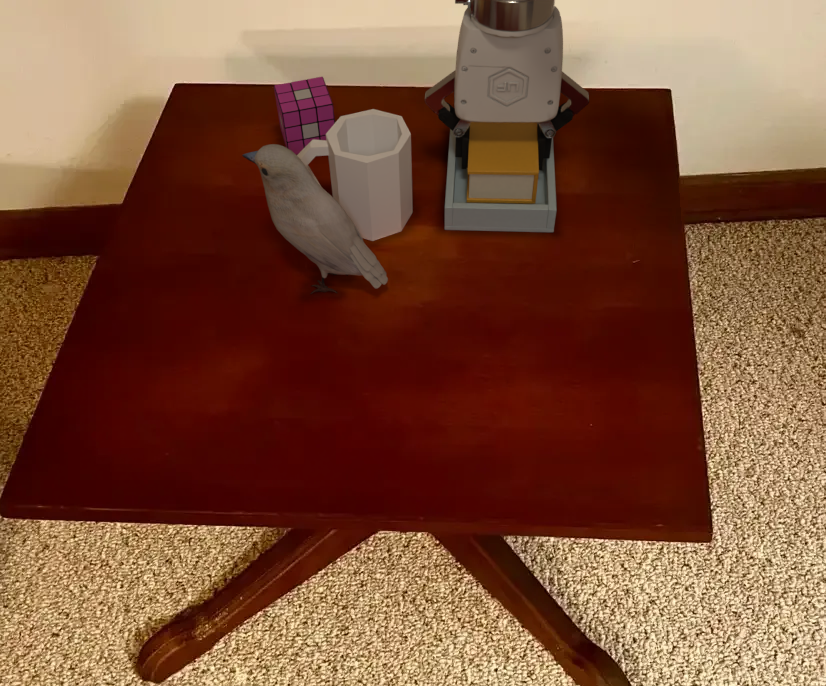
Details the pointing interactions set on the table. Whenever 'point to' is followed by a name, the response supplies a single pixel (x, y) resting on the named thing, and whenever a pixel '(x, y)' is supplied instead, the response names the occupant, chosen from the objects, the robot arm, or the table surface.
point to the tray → (498, 214)
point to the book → (502, 163)
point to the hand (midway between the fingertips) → (501, 160)
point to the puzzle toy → (304, 112)
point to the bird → (313, 218)
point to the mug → (369, 170)
